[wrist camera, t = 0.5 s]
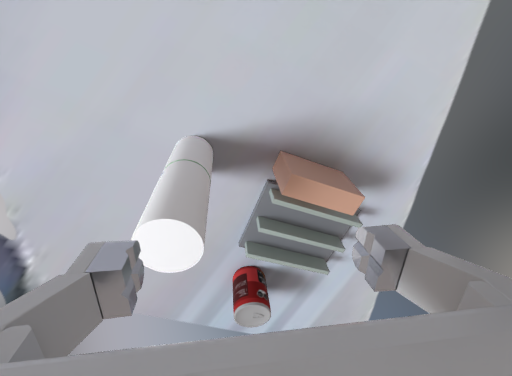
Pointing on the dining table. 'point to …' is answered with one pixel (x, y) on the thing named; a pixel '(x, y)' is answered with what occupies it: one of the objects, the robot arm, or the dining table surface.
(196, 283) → the dining table surface
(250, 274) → the canned food
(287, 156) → the terracotta tile
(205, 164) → the cylindrical container
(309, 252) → the slotted rail base
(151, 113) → the dining table surface
